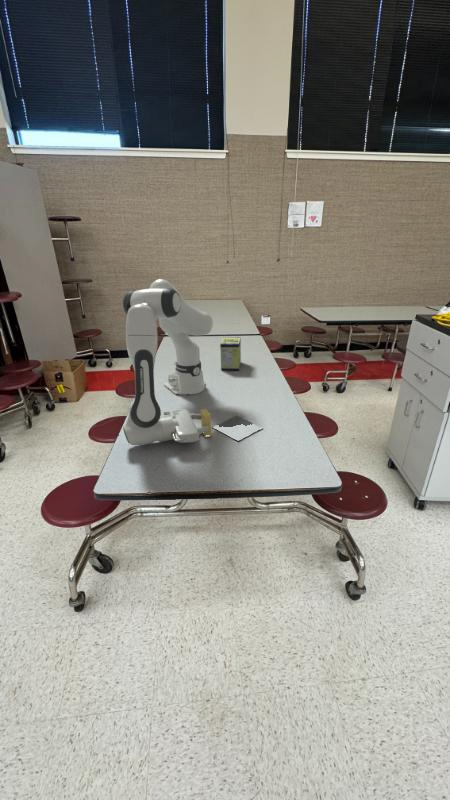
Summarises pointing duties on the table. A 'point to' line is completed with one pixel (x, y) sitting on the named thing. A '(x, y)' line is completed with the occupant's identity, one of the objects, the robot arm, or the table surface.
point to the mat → (234, 422)
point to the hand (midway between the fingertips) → (204, 421)
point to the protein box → (230, 353)
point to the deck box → (206, 420)
